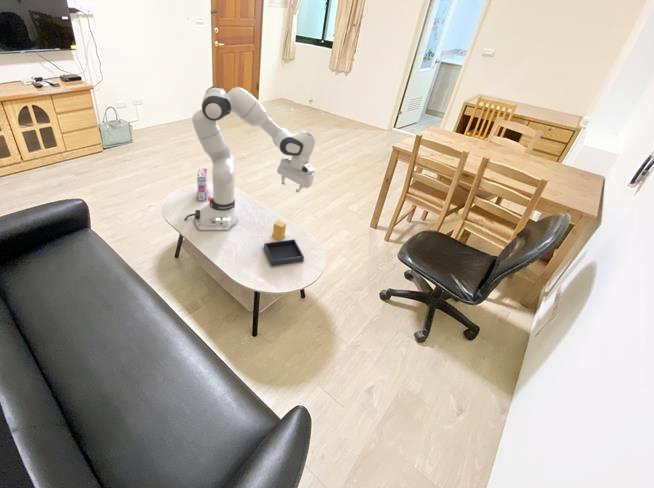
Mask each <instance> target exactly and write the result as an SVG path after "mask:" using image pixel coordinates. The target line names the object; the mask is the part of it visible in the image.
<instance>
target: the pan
mask: <svg viewBox="0 0 654 488" xmlns="http://www.w3.org/2000/svg"><path fill="white" fill-rule="evenodd" d="M263 245H264V246H263V250H264V252H265V254H266V256H267V259H268V261H269V264H270V267H276V266H283V265H289V264H294V263H301V262H304V259H305V256H304V254H303V252H302V250H301V248H300V246H299V245H298V243H297V241H296V239H295V238H293V239H286V240H278V241H272V242H264V243H263Z"/></svg>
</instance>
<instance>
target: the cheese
mask: <svg viewBox="0 0 654 488" xmlns="http://www.w3.org/2000/svg"><path fill="white" fill-rule="evenodd" d="M286 228H287V224H286V223H285V222H283V221H281V220H276V221H275V222H273V227H272V237H274V238H275V239H277V240H278V241H282V239H283V238H285V236H286V230H287V229H286Z"/></svg>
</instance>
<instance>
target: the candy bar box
mask: <svg viewBox="0 0 654 488" xmlns="http://www.w3.org/2000/svg"><path fill="white" fill-rule="evenodd" d="M196 177H197V180H196V181H197V202H206V201H207V195H208V169H207V168H198V171H197V176H196Z"/></svg>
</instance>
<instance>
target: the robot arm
mask: <svg viewBox="0 0 654 488" xmlns="http://www.w3.org/2000/svg"><path fill="white" fill-rule="evenodd" d="M231 113H234V114H235V115H236V116H238V117H239V119H241V120H242V121H243V122H245V123H246V124H248V125H249V126H251V127H258V128H260V129H262V130H263V131H264V132H265V133H266V134H267V135H269V136H270V138H272V141H273V143H274V145H275V147H277V149H278V150H279V151H280V152H281V153H282V154H283V155H285V156H286V157H285V156H284V157H282V158H281V160H280V163H279V165H278V167H277V169H276V172H277V174H278V175H280V176H281V177H280V179H281V185H282V186H286V183H287V180H286V178H287V179H288V180H290V181H292V182H294V183H296V184H297V185H299V187H298V188H296V189H295V193H297V194H300V192H301V190H302V189H304V188H305V189H309V188H311V187H312V185H313V182H314V177H315V175H314V174H315V172H316V169H315V167H314V166H312V165H311V164H310V158H311V156H312V154H313V151H314V148H315V144H316V138H315V136H314V135H313V134H311V133H310V132H308V131H307V130H302V131H300V132H298V133H292V132H291V131H290V130H288V129H286V128H282V127H280V126H279V125H277V123H275V122H274V120H272V118H270V116H269V115H268V112H267V110H266V108H265V107H264V106H263V105H262V103H261V102H260V101H259V100H258V99H257V98H256V97H255V96H253V94H251V93H250V92H249V91H247V90H245V89H243V87H240V86H235V87H233V88H231V89H230V90H229V91H228V92H227V91H226V90H225V89H224V88H223V87H221V86H218V85H213V86H211V87H209V88H208V89H207V90H206V91H205V93H204V95H203V98H202V103H201V109H199V110H197V111H195V113H193V114H192V116H191V117H192V120H191V121H192V125H193V128H194V131H195V134H196V136H197V138H198V140H199V143H200V145H201V147H202V149H203V151H204V153H205V154H207V155H208V157H209V158H210V160H211V162H212V170H211V179H212V191H213V192H212V196H213V197H212V196H208V197H207V201H208V202H209V203H208V204H206V205H205V206H203V207H202V208H201V209H195V211H194V212H195V213H191V214H187V216H186V217H184V221H186V220H187V219H188V218H190V217H193V216H194V220H195V221H194V223H195V226H196V228H197V229H199V230H200V231H228V230H230V229H231V227H232V226H234V225H235V224H236V223H237V217H236V212H235V207H236V200H235V183H236V181H235V180H236V160H235V157H234V154H233V152H232V151H231V149H230V147H229V146H228V145H227V143H226V141H225V137H224V135H223V133H222V131H221V128H220V126H219V124H218V121H220V120H222V119H224V117H227V116H228V115H230V114H231ZM287 156H290V157H291V158H288V157H287Z"/></svg>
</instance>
